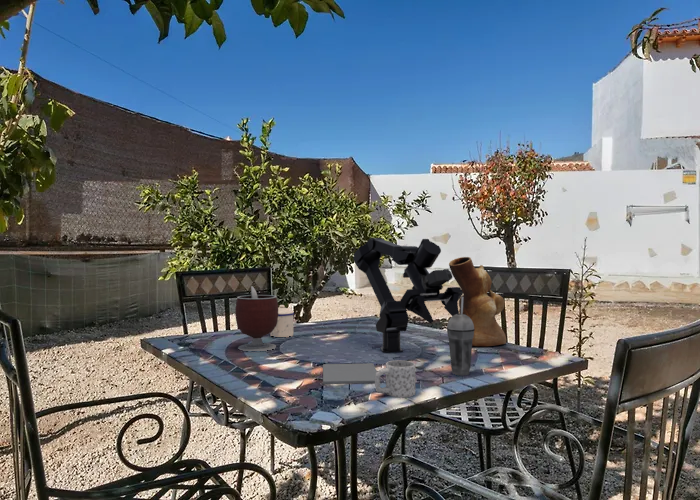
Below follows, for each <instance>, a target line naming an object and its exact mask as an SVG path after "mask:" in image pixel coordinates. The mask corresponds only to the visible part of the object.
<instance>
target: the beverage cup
mask: <svg viewBox="0 0 700 500" xmlns="http://www.w3.org/2000/svg"><path fill="white" fill-rule="evenodd" d="M463 298H464V297H462V300H461V314H456V315H454V316H451V317H450V318H449V320H448V322H447V326H446V330H447V331H446V333H447V337H448V345H449V356H450V367H451V374H452V373H453V375H454V374H455V375H456V376H469V375H470V371H471V365H472V364H471V362H472V351H473V350H472V349H473V346H472V341H473V336H474V331H475V329H474V324H473V322H472V320H471V319H470V317H468V316H467V315H465V314H463Z"/></svg>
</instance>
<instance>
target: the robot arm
mask: <svg viewBox="0 0 700 500" xmlns="http://www.w3.org/2000/svg"><path fill="white" fill-rule="evenodd" d="M441 252H442V249H441V247H440V246H439V245H438V244H436V243H435V242H433V241H431V240H430V239H429V238H422V240H421V241H420V243H419V245H418V246H416V245H415V246H414V245H400V244H396V243H394V242H391V241H389V240H386V239H384V238H382V237H379V238H377V237H371V238H369V239H368V241H367V242H365V243H364V244H363V245H360V246H359V247H358V248H357V249H356V250H355V252H354V254H353V258H352V259H353V261H354V263H355V265H356V267H357V269H358V270H360V271H361V272H363V273H364V274H365V275H366V277H367V279H368V281H369V284H370V286H371V288H372V291H373V293H374V295H375V297H376V300H377V301H378V304H379V305H380V310H379V319H377V320H378V321H377V322H376V323H375V329H376V332H379V333H382V346H380V350H381V352H383V353H402V352H403V353H404V350H403V348H402V347H401V332H406V331H407V329H408V325H409V321H410V320H409V319H410V318H409V314H408V312H411V313H413V314H415V315H417V316H418V317H420V318H422V319H423V320H424V321H426V322H428V323H430V324H433V323H434V319H433V317H432V314H431V313H430V311H429V308H428V307H427V305H426V302H428V303H429V302H441V304H442V305H443V306H444V309H445V310H446V312H448V313H449V314H450V316H451V317H452V316H454V315H456V314H459V299H460V298H461V296H462V295H463V292H462V290H461V288H460V286H451V287H449V286H448V287H447V288H446V289H445V291H444V292H441V290H442V289H443V288H444V286H443V285H444V284H446V283H448V282H450V280H452V279H453V275H452V272H451V270H450V268H443V269H437V270H436V269H435V270H433V271H431V272H430V273H429V271H428V269H429V268H432V266H434V264H435V262H436V260H437V259H438V257H439V255H440V254H441ZM383 254H384V255H385V256H387V257H390V258H391V259H392V262H394V263H395V264H397V265H398V266H406V268H404V271H403V273H402V278H404V279H405V278H406V279H408V278H409V280H410V282H411V283H412V285H413V286H412V288H410V289H406V291H405V292H404V294H403V295H402V297H401V299H400V300H395V298H394V296H393V294H392V291H391V290H390V287H389V285H388V283H387V282H386V280H385V277H384V275H383V273H382V271H381V269H380V263H381V258H382V256H383Z"/></svg>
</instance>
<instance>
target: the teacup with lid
mask: <svg viewBox="0 0 700 500" xmlns="http://www.w3.org/2000/svg"><path fill="white" fill-rule="evenodd" d="M294 314H295V312H294V311H293V310H290V309H289V308H287V307H285V305H284V304H280V305H278V320H277V325H276V327H275V328H274V330H273V331H272V332H271V333H269V334H270V337H271V336H275V337H286V338H290V337H289V336H291V337H294ZM275 337H274V338H275Z"/></svg>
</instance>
